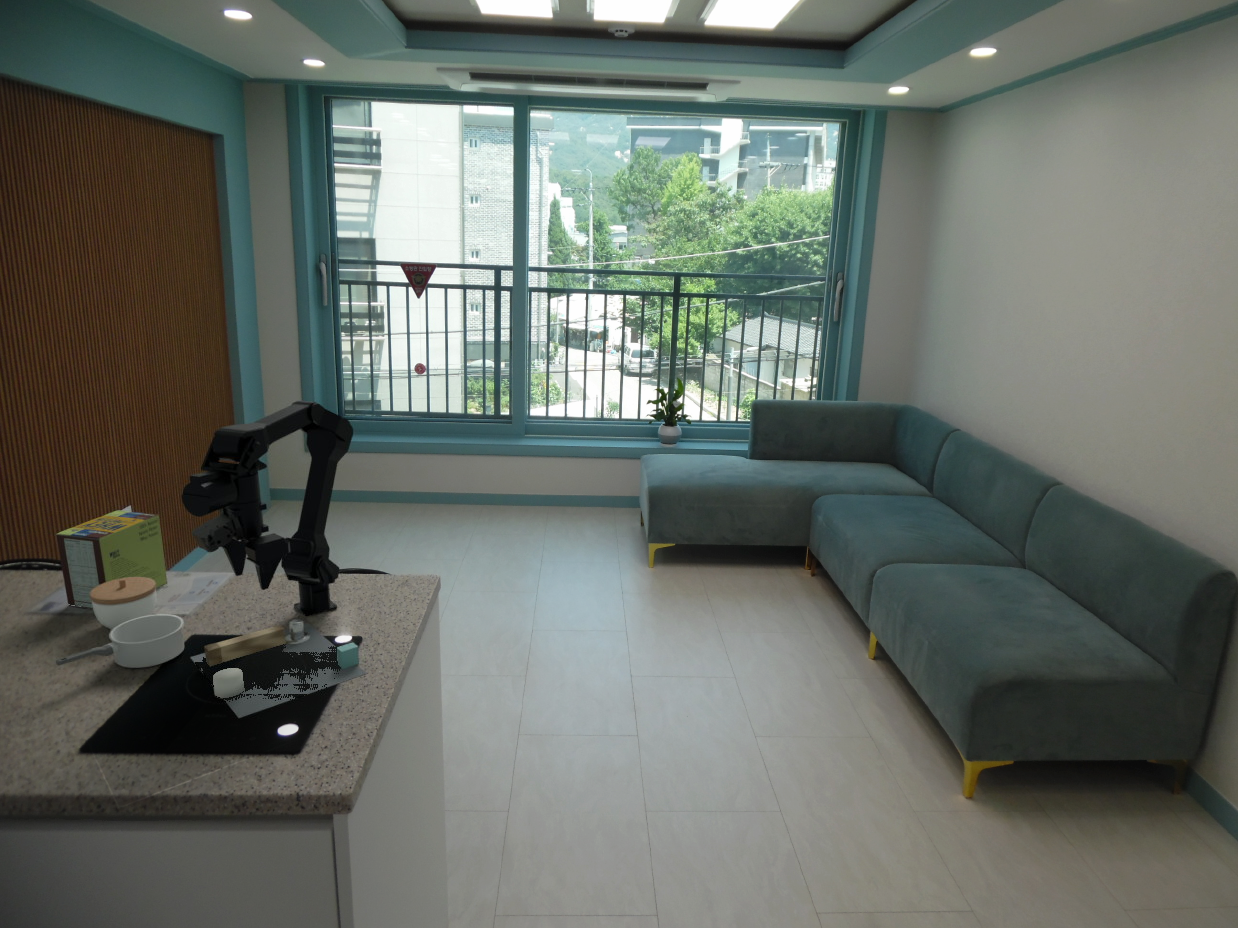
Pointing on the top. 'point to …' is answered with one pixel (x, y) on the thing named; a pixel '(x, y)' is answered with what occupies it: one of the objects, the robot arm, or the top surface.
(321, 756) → the top surface
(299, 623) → the hinge pin
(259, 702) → the mat
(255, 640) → the wooden block
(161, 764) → the top surface
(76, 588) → the protein box
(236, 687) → the door stop
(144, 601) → the lidded jar
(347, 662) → the teal rectangular block
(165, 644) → the saucepan
